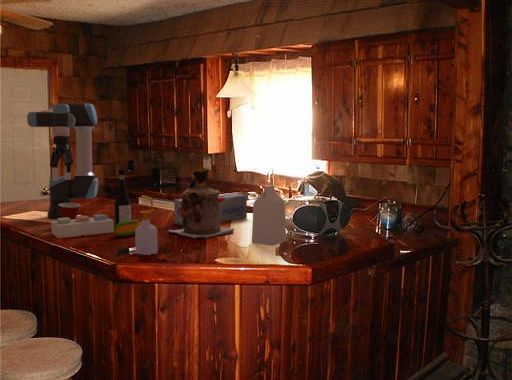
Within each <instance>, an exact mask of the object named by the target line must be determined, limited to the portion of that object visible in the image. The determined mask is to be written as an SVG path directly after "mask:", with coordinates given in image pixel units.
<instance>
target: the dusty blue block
mask: <svg viewBox="0 0 512 380" xmlns="http://www.w3.org/2000/svg"><path fill="white" fill-rule="evenodd" d="M93 218H94V220H96V221H99V220H107V218H108V215H106V214H105V213H104V214H103V213H100V214H94V215H93Z"/></svg>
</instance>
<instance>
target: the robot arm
mask: <svg viewBox="0 0 512 380" xmlns="http://www.w3.org/2000/svg"><path fill="white" fill-rule="evenodd" d="M26 121H27V125H28V126H29V127H30V128H52V135H53V137H52V144H53V145H55V147H54V146H53V147H52V152H51V158H50V163H49V167H51V170H52V173H51V174H52V175H51V177H52V178H51V179H50V180H49V181H48V182H49V184H48V185H49V186H48V188H49V206H48V207H49V208H48V211H47V219H50V220H51V219H52V220H57V218H62V214H61V209H60V206H59V204H61V203H73V202H72V199H75V200H76V199H77V200H78V199H81V200H83V199H86V200H88V199H95V197H97V194H98V191H99V179H98V178H97V177H96V174H95V173H94V172H93V145H92V144H93V142H92V141H93V138H92V136H93V135H92V131H93V129H94V128H95V125H97V124H98V115H97V110H96V108H95V105H93V104H92V103H55V104H54V105H52V106H51V107H50V108H49V109H45V110H41V111H30V112H28V113H27V116H26ZM70 128H73V129H74V130H75V149H76V152H75V153H76V156H75V157H76V158H75V159H76V160H75V161H76V172H75V174H73V177H72V170H71V169H72V165H74V160H73V156H72V152H71V145H70ZM61 158H62V159H63V162H64V175H62V176H59V163H60V161H61V160H60V159H61Z"/></svg>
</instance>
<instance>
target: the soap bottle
mask: <svg viewBox="0 0 512 380" xmlns="http://www.w3.org/2000/svg"><path fill="white" fill-rule="evenodd" d="M140 197H141V198H143V199H146V200H149V201H150V210H141V211H139V213H140V214H142V215H141V216H143V217H142V218H141V222H142V224H141V225H140V226H138V227H137V228H136V230H135V235H134V236H135V254H136V253H137V254H136V255H138V254H143V255H148V256H152V255H151V254H154V255H157V253H158V252H159V251H158V247H159V246H158V229H157V227H156V226H155V225H153V224H151V218H149V215H150V214H151V213H152V212H153V211H154V201H153V198H152V197H151V196H147V195H143V194H142V195H141V196H140Z"/></svg>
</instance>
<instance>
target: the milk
mask: <svg viewBox="0 0 512 380" xmlns="http://www.w3.org/2000/svg"><path fill="white" fill-rule="evenodd" d="M252 206H253V207H252V224H251V225H252V227H251V228H252V230H251V231H252V232H251V244H257V245H264V246H269V247H270V246H271V247H274V246H277V245H280V244H282V243H284V242H285V243H286V242H287V225H286V222H287V221H286V205H285V200H284V199H283V197H281V196H280V195H279V194H278V193H277V192H276V189H275V185H273V184H271V185H266V186H265V185H264V189H263V193H261V194H260V195H259V197H257V198H256V199H255V201H254V202H253V204H252Z"/></svg>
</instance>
